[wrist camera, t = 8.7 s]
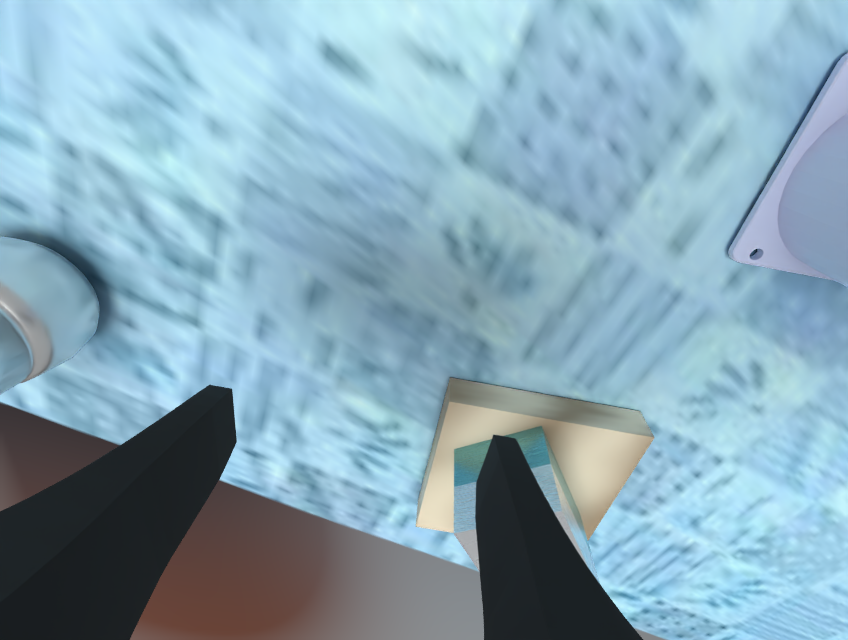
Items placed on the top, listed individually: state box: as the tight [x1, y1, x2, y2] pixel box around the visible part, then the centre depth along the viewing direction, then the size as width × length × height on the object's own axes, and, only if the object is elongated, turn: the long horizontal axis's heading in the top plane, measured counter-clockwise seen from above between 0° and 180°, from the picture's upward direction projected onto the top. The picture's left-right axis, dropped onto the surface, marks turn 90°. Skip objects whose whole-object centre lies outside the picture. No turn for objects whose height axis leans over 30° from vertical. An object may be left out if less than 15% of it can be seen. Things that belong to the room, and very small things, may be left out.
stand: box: [416, 378, 654, 540], centre depth 26 cm, size 11×11×2 cm
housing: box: [454, 426, 600, 584], centre depth 22 cm, size 8×5×5 cm, turn 25°
